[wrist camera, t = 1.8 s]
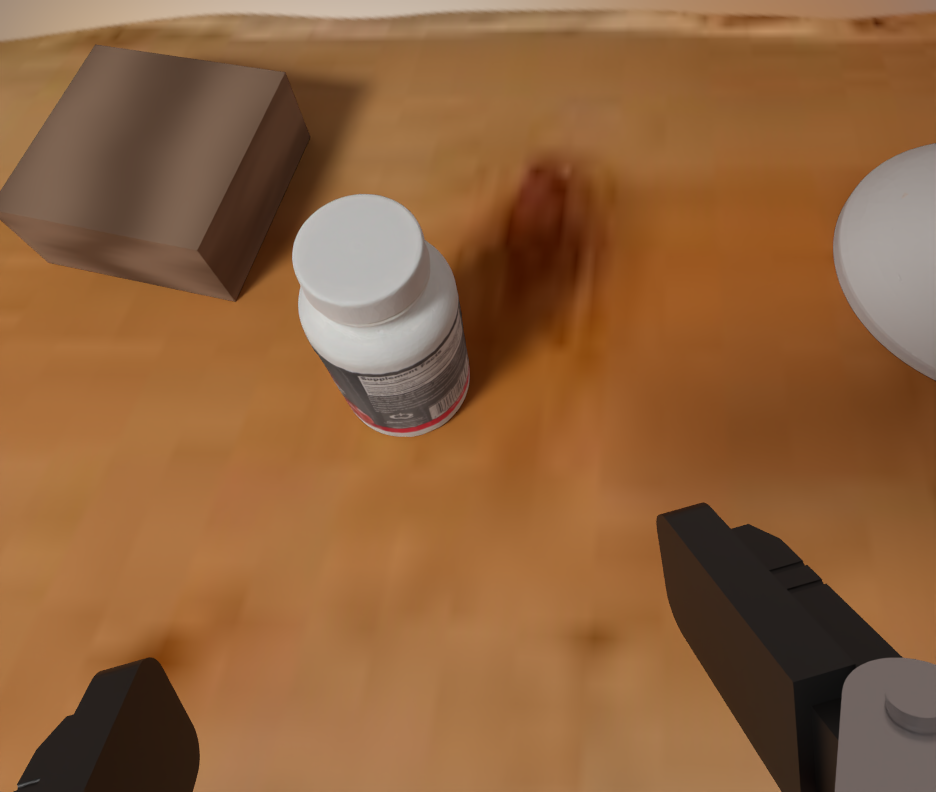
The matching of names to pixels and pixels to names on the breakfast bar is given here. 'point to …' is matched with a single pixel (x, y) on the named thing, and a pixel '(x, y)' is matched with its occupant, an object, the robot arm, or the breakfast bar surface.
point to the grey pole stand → (893, 255)
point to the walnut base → (159, 170)
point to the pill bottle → (382, 314)
